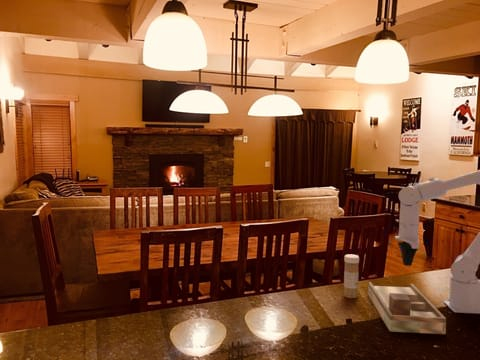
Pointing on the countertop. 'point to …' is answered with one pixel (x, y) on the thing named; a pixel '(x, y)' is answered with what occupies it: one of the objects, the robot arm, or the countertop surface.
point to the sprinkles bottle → (351, 276)
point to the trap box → (421, 311)
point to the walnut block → (399, 304)
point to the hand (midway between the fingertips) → (407, 265)
